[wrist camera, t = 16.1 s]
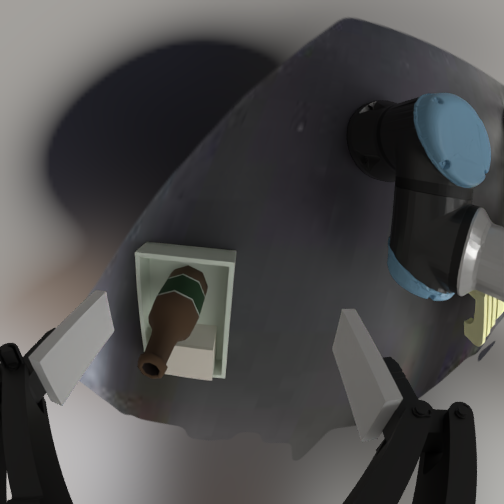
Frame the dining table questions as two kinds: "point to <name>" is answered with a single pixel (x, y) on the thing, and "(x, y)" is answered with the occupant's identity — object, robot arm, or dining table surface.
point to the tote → (216, 275)
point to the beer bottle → (172, 318)
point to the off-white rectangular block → (194, 354)
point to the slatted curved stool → (482, 317)
